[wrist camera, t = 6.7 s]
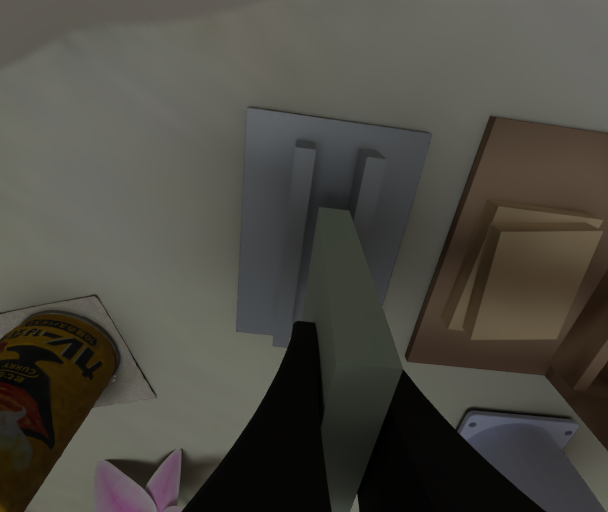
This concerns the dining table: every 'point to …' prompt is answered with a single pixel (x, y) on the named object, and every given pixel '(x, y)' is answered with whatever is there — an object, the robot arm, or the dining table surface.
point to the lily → (138, 488)
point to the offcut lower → (491, 214)
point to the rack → (592, 291)
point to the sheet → (348, 353)
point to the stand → (317, 205)
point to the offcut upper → (528, 279)
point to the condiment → (55, 387)
